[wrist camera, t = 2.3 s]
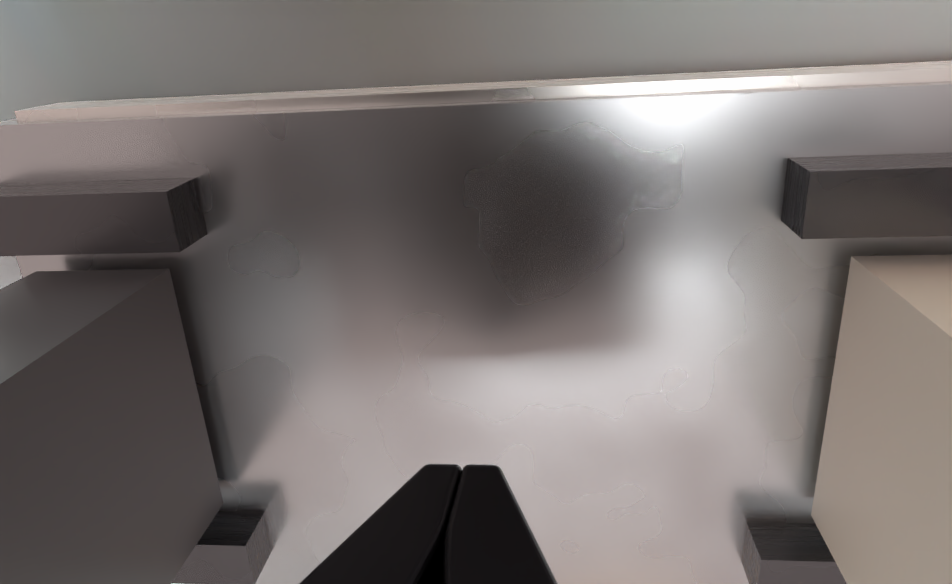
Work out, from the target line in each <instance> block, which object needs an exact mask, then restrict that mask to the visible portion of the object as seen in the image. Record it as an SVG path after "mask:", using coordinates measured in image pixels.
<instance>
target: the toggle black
mask: <svg viewBox="0 0 952 584" xmlns="http://www.w3.org/2000/svg"><path fill="white" fill-rule="evenodd" d="M222 505H223V499H222V494H221V490H220V486H219V481H218V477H217V473H216V469H215V464H214V460H213V456H212V451H211V447H210V443H209V438H208V434H207V430H206V425H205V421H204V417H203V412H202V408H201V404H200V399H199V395H198V391H197V386H196V382H195V378H194V373H193V369H192V365H191V360H190V356H189V352H188V347H187V343H186V339H185V334H184V330H183V326H182V321H181V317H180V313H179V308H178V304H177V300H176V295H175V291H174V287H173V282H172V278H171V274H170V269H133V270H79V271H36V272H34V273H32V274H30V275H28V276H26V277H24V278H22V279H20V280H18V281H16V282H14V283H12V284H10V285H8V286H6V287H4V288H2V289H0V584H171V582H172V581H173V579H174V578H175V576H176V575H177V573H178V572H179V570H180V569H181V567H182V566H183V564H184V563H185V561H186V560H187V558H188V557H189V555H190V554H191V552H192V550H193V549H194V547H195V546H196V544H197V543H198V541H199V540H200V538H201V537H202V535H203V534H204V532H205V531H206V529H207V528H208V526H209V525H210V523H211V522H212V520H213V519H214V517H215V516H216V514H217V512H218V511H219V509H220V508H221V506H222Z"/></svg>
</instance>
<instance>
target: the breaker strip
mask: <svg viewBox="0 0 952 584" xmlns="http://www.w3.org/2000/svg"><path fill="white" fill-rule="evenodd" d="M14 112H15V115H16V118H14V119H9V120H4V121H0V256H16V258H17V261H18V265H19V268H20V271H21V274H22V277H23V278H24V277H26V276H28V275H30V274H32V273H34V272H36V271H79V270H133V269H170V274H171V278H172V282H173V287H174V291H175V295H176V300H177V304H178V308H179V313H180V317H181V321H182V326H183V330H184V334H185V339H186V343H187V347H188V352H189V356H190V360H191V365H192V369H193V373H194V378H195V382H196V386H197V391H198V395H199V399H200V404H201V408H202V412H203V417H204V421H205V425H206V430H207V434H208V438H209V443H210V447H211V451H212V456H213V460H214V464H215V469H216V473H217V477H218V481H219V486H220V490H221V494H222V499H223V505H222V506H221V508H220V509H219V511H218V512H217V514H216V516H215V517H214V519H213V520H212V522H211V523H210V525H209V526H208V528H207V529H206V531H205V532H204V534H203V535H202V537H201V538H200V540H199V541H198V543H197V544H196V546H195V547H194V549H193V550H192V552H191V554H190V555H189V557H188V558H187V560H186V561H185V563H184V564H183V566H182V567H181V569H180V570H179V572H178V573H177V575H176V576H175V578H174V579H173V581H172V582H171V583H184V584H299V583H300V582H301V581H302V580H303V579H304V578H305V577H307V576H308V575H309V574H310V573H311V572H312V571H313V570H314V569H315V568H316V567H317V566H318V565H319V564H320V563H321V562H322V561H323V560H325V559H326V558H327V557H328V556H329V555H330V554H331V553H332V552H333V551H334V550H335V549H336V548H337V547H338V546H339V545H340V544H341V543H343V542H344V541H345V540H346V539H347V538H348V537H349V536H350V535H351V534H352V533H353V532H354V531H355V530H356V529H357V528H358V527H359V526H360V525H362V524H363V523H364V522H365V521H366V520H367V519H368V518H369V517H370V516H371V515H372V514H373V513H374V512H375V511H376V510H377V509H378V508H380V507H381V506H382V505H383V504H384V503H385V502H386V501H387V500H388V499H389V498H390V497H391V496H392V495H393V494H394V493H395V492H396V491H398V490H399V489H400V488H401V487H402V486H403V485H404V484H405V483H406V482H407V481H408V480H409V479H410V478H411V477H412V476H413V475H414V474H416V473H417V472H418V471H419V470H420V469H421V468H422V467H423V466H425V465H427V464H458V465H459V466H461V468H462V469H463V467H464V466H466V465H468V464H490V465H498V466H499V467H500V468H501V469H502V471H503V473H504V475H505V477H506V479H507V481H508V483H509V485H510V487H511V489H512V491H513V494H514V496H515V498H516V500H517V502H518V504H519V506H520V508H521V510H522V512H523V514H524V516H525V518H526V520H527V522H528V524H529V526H530V528H531V530H532V532H533V534H534V536H535V538H536V540H537V542H538V544H539V546H540V548H541V550H542V552H543V555H544V557H545V559H546V561H547V563H548V565H549V567H550V569H551V571H552V573H553V575H554V577H555V579H556V581H557V583H558V584H847V583H846V581H845V579H844V577H843V575H842V573H841V572H840V570H839V568H838V566H837V564H836V562H835V560H834V558H833V556H832V554H831V552H830V551H829V549H828V547H827V545H826V543H825V541H824V539H823V537H822V535H821V533H820V531H819V529H818V528H817V526H816V524H815V522H814V520H813V518H812V516H811V512H812V505H813V499H814V493H815V486H816V480H817V473H818V467H819V461H820V454H821V448H822V441H823V435H824V428H825V422H826V416H827V409H828V403H829V396H830V390H831V383H832V377H833V371H834V364H835V358H836V351H837V345H838V339H839V332H840V326H841V319H842V313H843V306H844V300H845V294H846V287H847V281H848V274H849V268H850V261H851V256H893V255H947V254H952V61H932V62H910V63H889V64H868V65H846V66H825V67H803V68H782V69H761V70H739V71H718V72H696V73H675V74H654V75H632V76H611V77H589V78H568V79H547V80H525V81H504V82H482V83H461V84H440V85H418V86H397V87H375V88H354V89H333V90H311V91H290V92H269V93H247V94H226V95H204V96H183V97H162V98H140V99H119V100H97V101H76V102H59V103H54V104H49V105H43V106H38V107H33V108H27V109H22V110H17V111H14Z"/></svg>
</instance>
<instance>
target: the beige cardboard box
mask: <svg viewBox="0 0 952 584" xmlns="http://www.w3.org/2000/svg"><path fill="white" fill-rule="evenodd" d="M811 516H812V518H813V520H814V522H815V524H816V526H817V528H818V529H819V531H820V533H821V535H822V537H823V539H824V541H825V543H826V545H827V547H828V549H829V551H830V552H831V554H832V556H833V558H834V560H835V562H836V564H837V566H838V568H839V570H840V572H841V573H842V575H843V577H844V579H845V581H846V583H847V584H952V254H947V255H893V256H851V261H850V268H849V274H848V281H847V287H846V294H845V300H844V306H843V313H842V319H841V326H840V332H839V339H838V345H837V351H836V358H835V364H834V371H833V377H832V383H831V390H830V396H829V403H828V409H827V416H826V422H825V428H824V435H823V441H822V448H821V454H820V461H819V467H818V473H817V480H816V486H815V493H814V499H813V505H812V512H811Z"/></svg>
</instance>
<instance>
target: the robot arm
mask: <svg viewBox="0 0 952 584" xmlns="http://www.w3.org/2000/svg"><path fill="white" fill-rule="evenodd" d="M299 584H558V583H557V581H556V579H555V577H554V575H553V573H552V571H551V569H550V567H549V565H548V563H547V561H546V559H545V557H544V555H543V552H542V550H541V548H540V546H539V544H538V542H537V540H536V538H535V536H534V534H533V532H532V530H531V528H530V526H529V524H528V522H527V520H526V518H525V516H524V514H523V512H522V510H521V508H520V506H519V504H518V502H517V500H516V498H515V496H514V494H513V491H512V489H511V487H510V485H509V483H508V481H507V479H506V477H505V475H504V473H503V471H502V469H501V468H500V467H499V466H498V465H490V464H468V465H466V466H464V467H463V469H462V468H461V466H459V465H458V464H427V465H425V466H423V467H422V468H421V469H420V470H419V471H418V472H417V473H416V474H414V475H413V476H412V477H411V478H410V479H409V480H408V481H407V482H406V483H405V484H404V485H403V486H402V487H401V488H400V489H399V490H398V491H396V492H395V493H394V494H393V495H392V496H391V497H390V498H389V499H388V500H387V501H386V502H385V503H384V504H383V505H382V506H381V507H380V508H378V509H377V510H376V511H375V512H374V513H373V514H372V515H371V516H370V517H369V518H368V519H367V520H366V521H365V522H364V523H363V524H362V525H360V526H359V527H358V528H357V529H356V530H355V531H354V532H353V533H352V534H351V535H350V536H349V537H348V538H347V539H346V540H345V541H344V542H343V543H341V544H340V545H339V546H338V547H337V548H336V549H335V550H334V551H333V552H332V553H331V554H330V555H329V556H328V557H327V558H326V559H325V560H323V561H322V562H321V563H320V564H319V565H318V566H317V567H316V568H315V569H314V570H313V571H312V572H311V573H310V574H309V575H308V576H307V577H305V578H304V579H303V580H302V581H301V582H300V583H299Z"/></svg>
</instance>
